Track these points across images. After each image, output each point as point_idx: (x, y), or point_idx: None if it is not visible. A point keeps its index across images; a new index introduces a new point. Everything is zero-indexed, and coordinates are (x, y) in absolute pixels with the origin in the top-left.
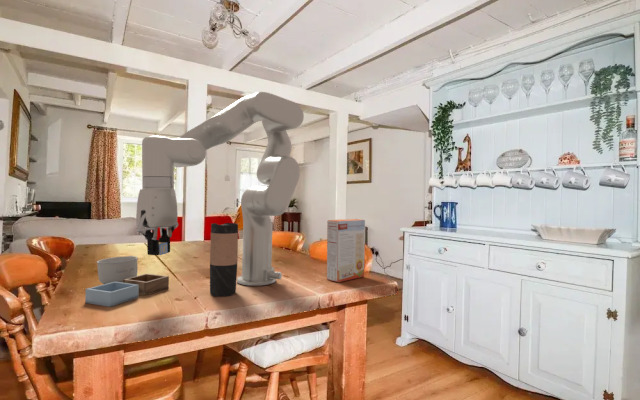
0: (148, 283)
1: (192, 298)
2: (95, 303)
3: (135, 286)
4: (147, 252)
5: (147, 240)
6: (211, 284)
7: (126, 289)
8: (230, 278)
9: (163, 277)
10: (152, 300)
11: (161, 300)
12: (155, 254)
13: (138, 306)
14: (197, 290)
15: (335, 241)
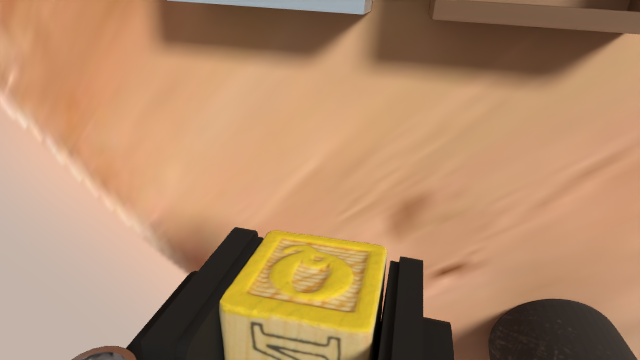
0: (451, 20)
1: (436, 262)
2: None
3: (339, 11)
4: (230, 233)
5: (152, 329)
6: (512, 355)
7: (271, 7)
8: None
9: (625, 25)
10: (355, 116)
11: (368, 155)
12: None
13: (260, 117)
14: (589, 223)
15: None
